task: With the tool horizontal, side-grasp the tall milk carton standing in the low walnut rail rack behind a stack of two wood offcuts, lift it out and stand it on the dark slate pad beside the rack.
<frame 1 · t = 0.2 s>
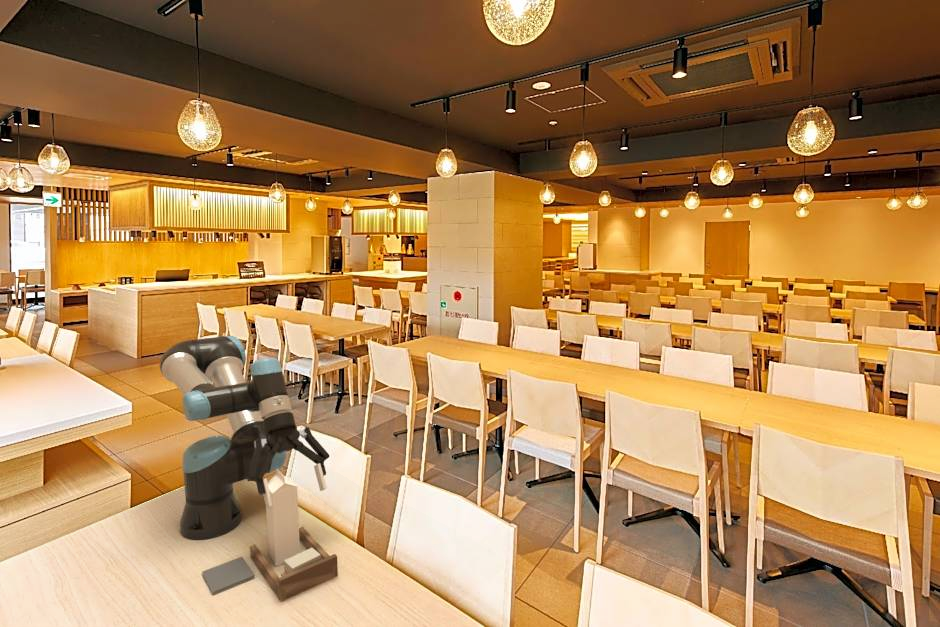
hand: (297, 498, 126), 15 cm above the table, tool tilted 35°, fingers open, 13 cm apart
rack: (293, 566, 124), on the table
slate pad: (228, 576, 120), on the table
milk: (284, 556, 128), on the table
offcut low: (304, 581, 119), resting in rack, touching offcut top
offcut top: (303, 569, 118), point 3 cm above the table, touching offcut low
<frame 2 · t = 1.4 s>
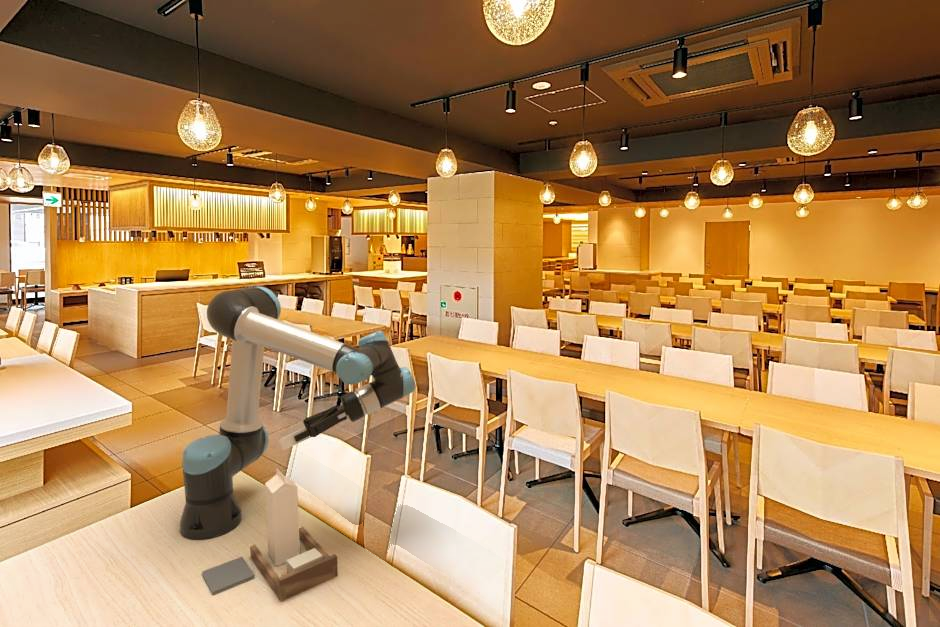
hand: (280, 440, 128), 28 cm above the table, tool tilted 70°, fingers open, 13 cm apart
nothing on the table moved.
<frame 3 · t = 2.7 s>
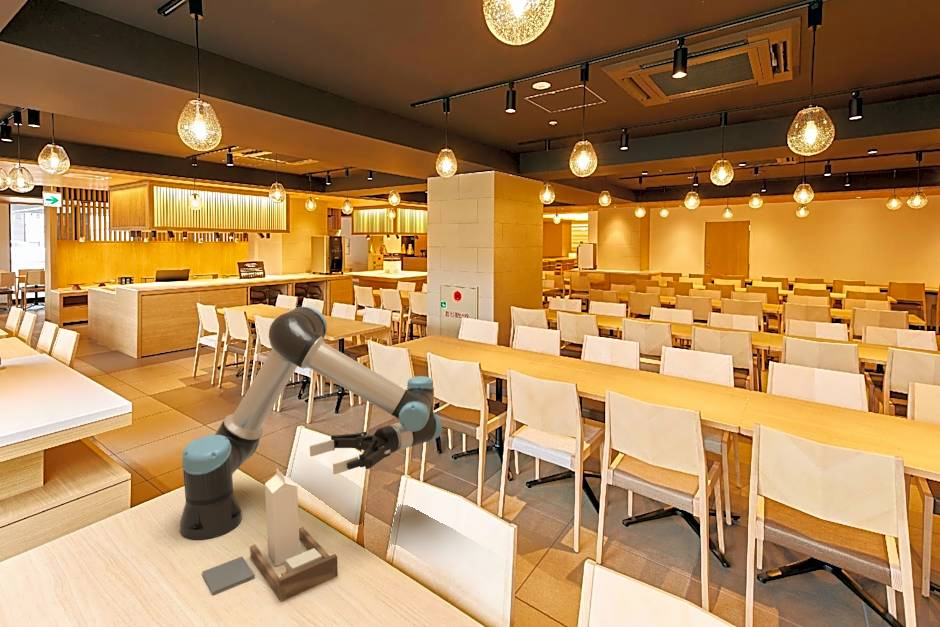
hand: (321, 459, 131), 22 cm above the table, tool horizontal, fingers open, 13 cm apart
nothing on the table moved.
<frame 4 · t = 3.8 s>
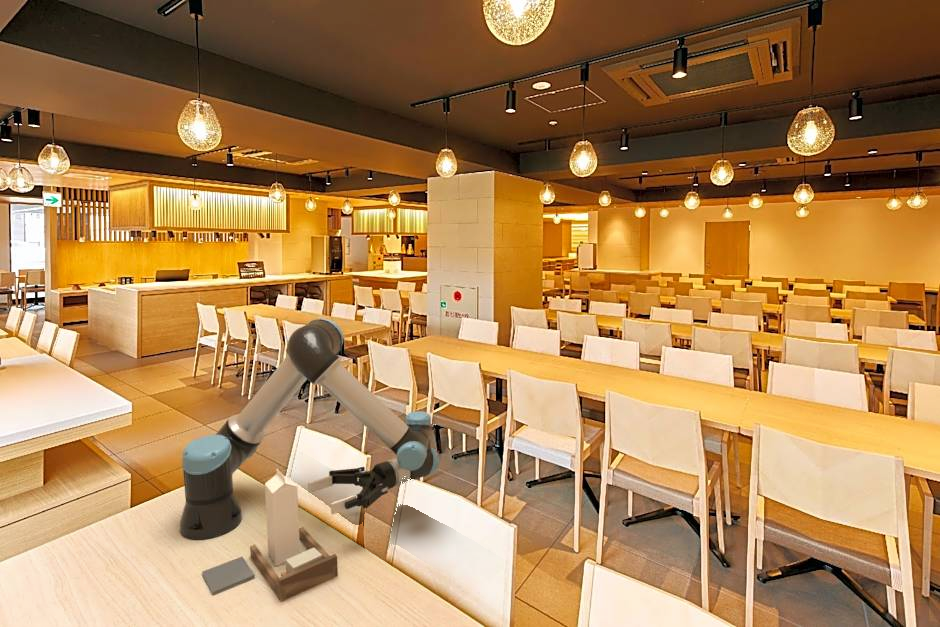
hand: (319, 498, 132), 12 cm above the table, tool horizontal, fingers open, 13 cm apart
offcut low: (304, 581, 119), resting in rack
offcut top: (304, 569, 119), point 3 cm above the table
everything else where it was.
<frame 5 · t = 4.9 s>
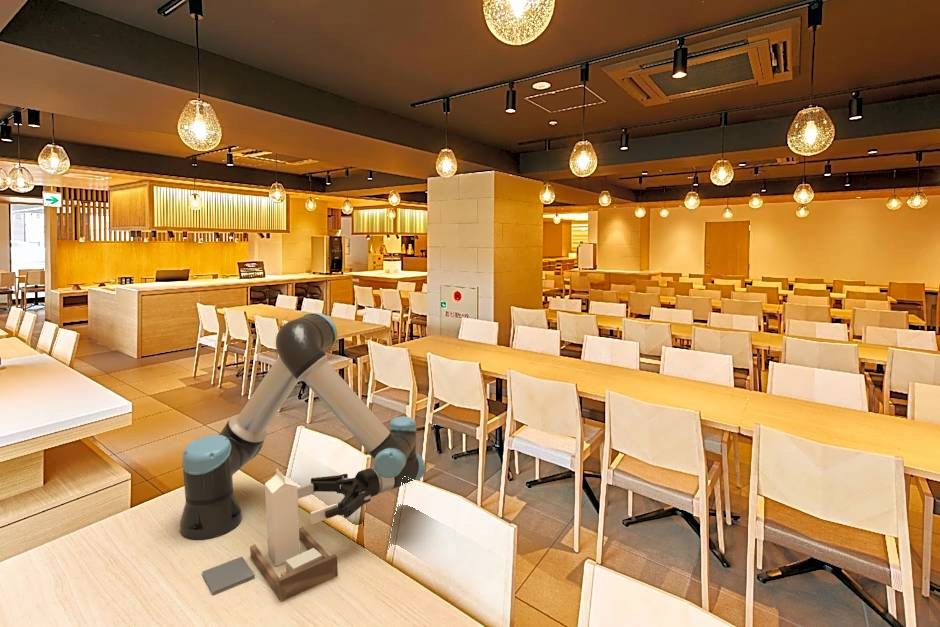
hand: (299, 506, 128), 12 cm above the table, tool horizontal, fingers open, 13 cm apart
offcut low: (303, 581, 119), resting in rack, touching offcut top
offcut top: (304, 569, 118), point 3 cm above the table, touching offcut low
everything else where it was.
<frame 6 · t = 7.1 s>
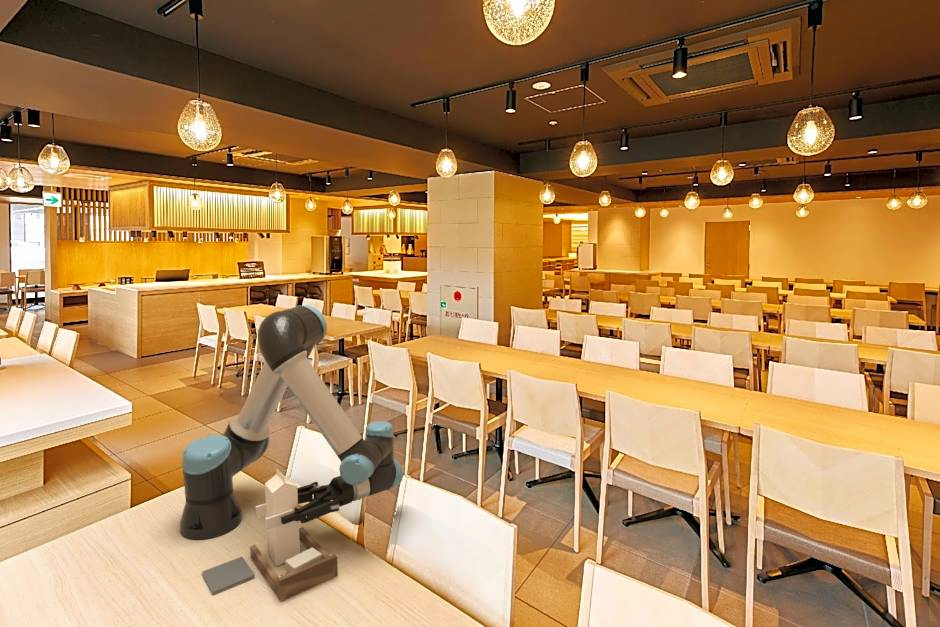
hand: (261, 517, 123), 12 cm above the table, tool horizontal, fingers closed on milk, 6 cm apart
milk: (284, 556, 128), on the table, touching gripper
everything else where it was.
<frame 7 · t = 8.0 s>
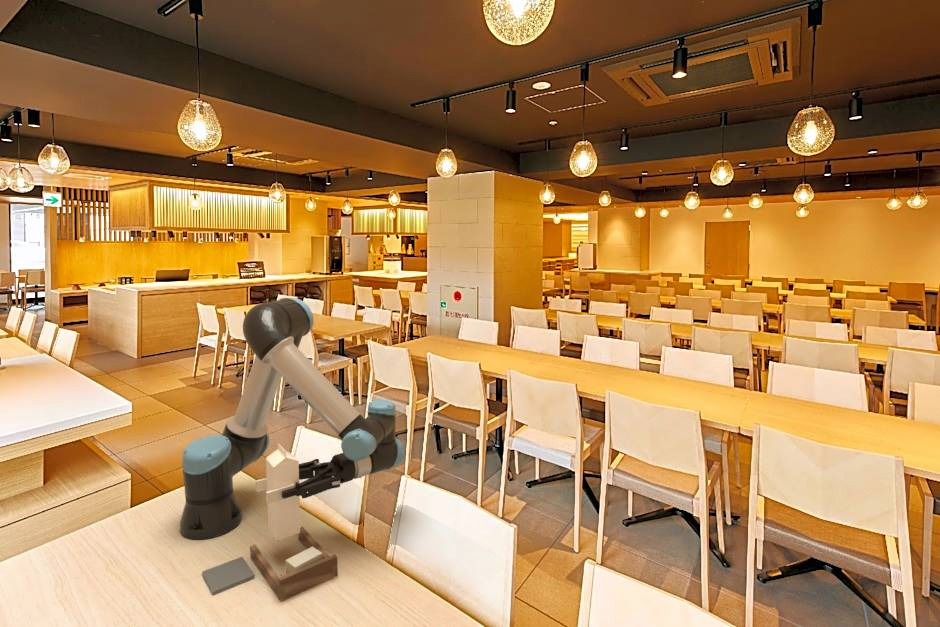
hand: (261, 492, 121), 19 cm above the table, tool horizontal, fingers closed on milk, 6 cm apart
milk: (284, 532, 127), point 6 cm above the table, touching gripper
everything else where it was.
when the fingers open (14 cm above the table, at t = 12.2 s): milk drops 1 cm, resting on slate pad.
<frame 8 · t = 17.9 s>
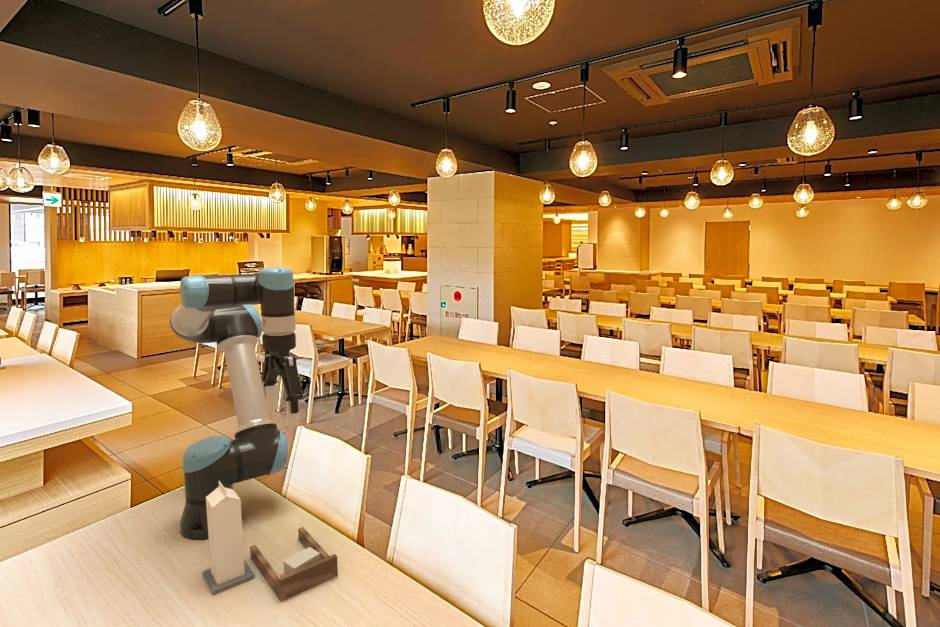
hand: (282, 417, 126), 35 cm above the table, tool pointing down, fingers open, 13 cm apart
milk: (227, 574, 120), point 1 cm above the table, touching slate pad
offcut low: (303, 582, 118), resting in rack
offcut top: (302, 569, 119), point 3 cm above the table
at the end: milk inside the target area (0.1 cm from its centre), point 0.6 cm above the table; milk tilted 0°; the gripper is holding nothing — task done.
